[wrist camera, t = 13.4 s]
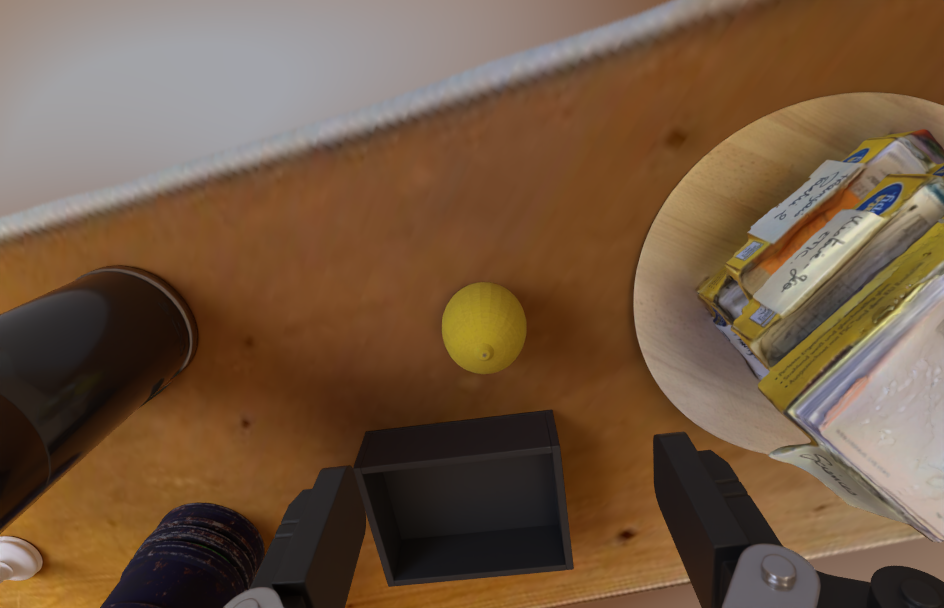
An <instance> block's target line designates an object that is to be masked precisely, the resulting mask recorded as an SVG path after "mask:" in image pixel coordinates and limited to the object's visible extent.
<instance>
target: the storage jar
mask: <svg viewBox="0 0 944 608" xmlns="http://www.w3.org/2000/svg"><path fill="white" fill-rule="evenodd" d="M263 557H264V544H263V540H262V538H261V535H260V534H259V532H258V531H257V529H256V528H255V527H254V526H253V525H252V524H251V523H250V522H249V521H248V520H247V519H246V518H244V517H243V516H241V515H240V514H238V513H236V512H235V511H233V510H231V509H228V508H225V507H223V506H219V505H215V504H208V503H192V504H186V505H182V506H180V507H177V508H175V509H173V510H172V511H170V512H169V513H168V514H167V515H166V516H165V517H164V518H163V519H162V521H161V522H160V524H159V525H158V527H157V529H155V530H154V531H153V533H152V534H151V535H150V536H149V537H148V538H147V539H146V540H145V541H144V543H143V544H142V545H141V546H140V548H139V549H138V550H137V552H136V554H135V555H134V558H133V559H132V560H131V561H130V563H129V564H128V565H127V567H126V568H125V570H124V571H123V573H122V576H121V579H120V582H119V583H118V584H117V586H116V587H115V588H114V590H113V591H112V592H111V594H110V595H109V596H108V598H107V599H106V600H105V602H104V603H103V604H102V606H101V607H100V608H223V607H224V606H225V605H226V604H227V603H228V602H229V601H231V600H232V599H233V598H234V597H236V596H237V595H239V594H241V593H243V592H244V591H247V590H249V589H250V587H251V584H252V582H253V580H254V577H255V575H256V572H257V570H258V569H259V567H260V565H261V563H262V561H263Z"/></svg>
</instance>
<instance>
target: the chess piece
mask: <svg viewBox="0 0 944 608" xmlns="http://www.w3.org/2000/svg"><path fill="white" fill-rule="evenodd" d="M42 564H43V561H42V557H41V555H40V553H39V552H38V550H37V549H36V548H35V547H34V546H32V545H31V544H29V543H28V542H26V541H24V540H22V539H19V538H16V537H10V536H2V537H0V583H1V582H3V581H4V580H26V579H29V578H31V577H32V576H33V575H34V574H35V573H37V572H38V571H39V570H40V569H41V567H42Z"/></svg>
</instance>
